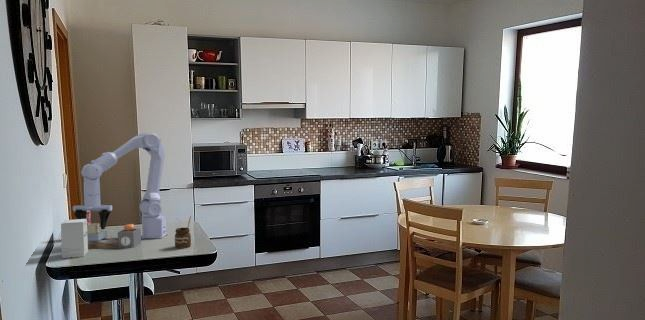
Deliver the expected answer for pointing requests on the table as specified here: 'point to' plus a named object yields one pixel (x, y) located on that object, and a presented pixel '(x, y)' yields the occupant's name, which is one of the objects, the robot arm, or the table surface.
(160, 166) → the robot arm
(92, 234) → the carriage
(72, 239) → the supplement box
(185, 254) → the table surface
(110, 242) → the rail track
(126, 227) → the button
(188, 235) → the brown jar with straw
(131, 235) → the cabinet
